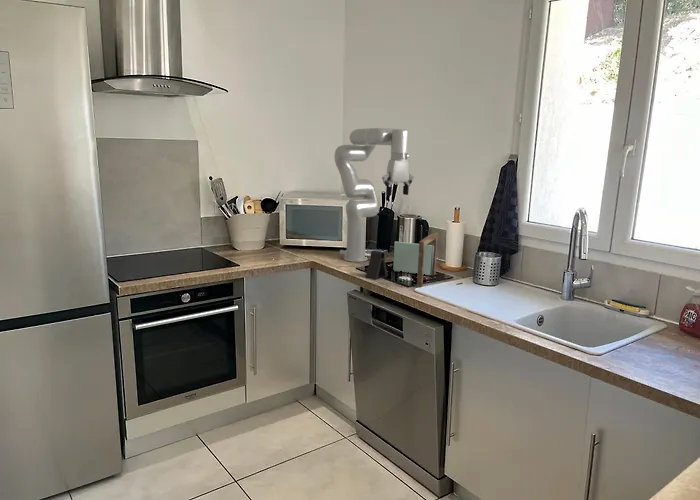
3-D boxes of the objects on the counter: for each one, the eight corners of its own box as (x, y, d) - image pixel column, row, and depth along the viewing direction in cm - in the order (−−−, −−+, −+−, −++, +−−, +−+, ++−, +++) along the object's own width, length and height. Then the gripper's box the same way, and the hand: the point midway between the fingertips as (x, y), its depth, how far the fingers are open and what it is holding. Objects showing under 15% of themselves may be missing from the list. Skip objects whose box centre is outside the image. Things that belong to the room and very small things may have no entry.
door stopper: (375, 279, 239) (376, 253, 237) (365, 277, 243) (366, 251, 241) (388, 276, 246) (389, 251, 243) (378, 274, 250) (379, 249, 247)
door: (432, 274, 249) (434, 245, 246) (431, 275, 248) (433, 246, 245) (394, 269, 256) (395, 241, 254) (393, 270, 255) (394, 241, 252)
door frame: (416, 286, 230) (419, 241, 226) (431, 273, 253) (434, 232, 249) (421, 287, 230) (423, 241, 225) (435, 274, 253) (438, 232, 248)
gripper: (408, 156, 248) (406, 193, 251) (378, 156, 238) (377, 194, 242) (419, 157, 242) (417, 195, 245) (388, 157, 232) (387, 196, 236)
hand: (397, 194), depth 244 cm, fingers open, 9 cm apart
